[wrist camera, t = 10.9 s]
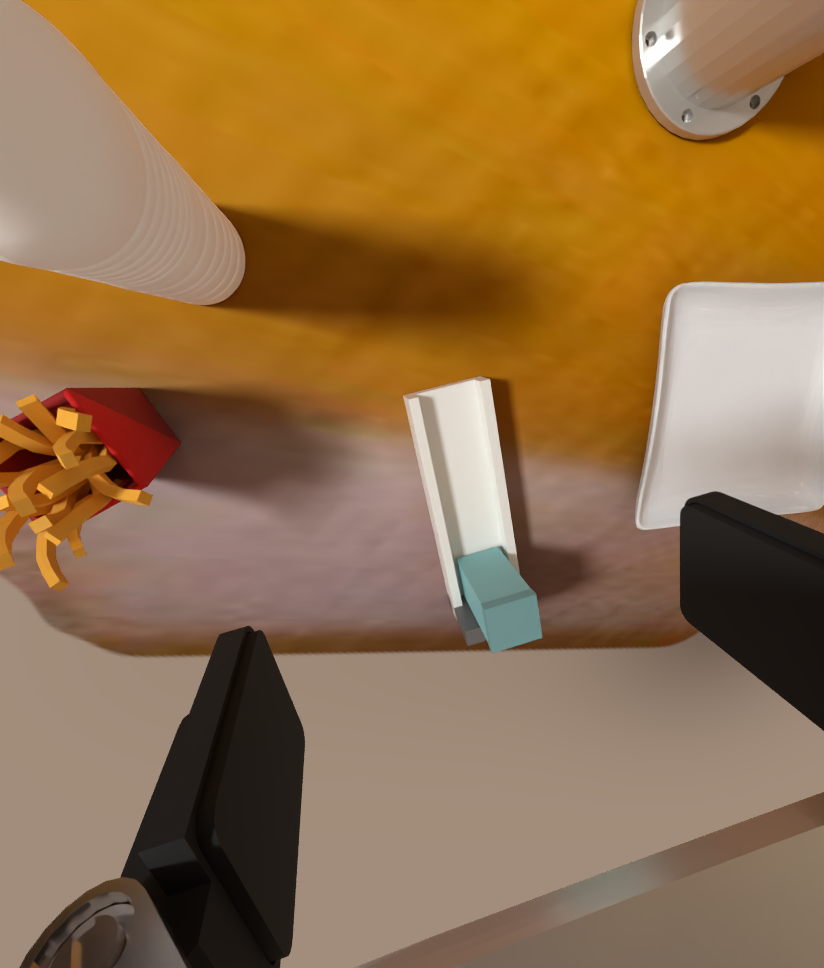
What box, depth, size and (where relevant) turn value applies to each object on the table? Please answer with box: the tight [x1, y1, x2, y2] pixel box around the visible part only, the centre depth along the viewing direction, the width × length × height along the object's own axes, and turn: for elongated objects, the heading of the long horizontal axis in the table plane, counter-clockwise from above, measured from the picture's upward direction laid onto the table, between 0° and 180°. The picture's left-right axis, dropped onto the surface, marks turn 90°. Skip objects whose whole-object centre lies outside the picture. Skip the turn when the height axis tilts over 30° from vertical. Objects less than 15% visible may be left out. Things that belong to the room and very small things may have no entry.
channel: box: [403, 376, 540, 646], centre depth 37 cm, size 7×21×6 cm, turn 13°
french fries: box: [0, 388, 181, 591], centre depth 27 cm, size 9×8×15 cm
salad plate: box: [635, 281, 824, 530], centre depth 40 cm, size 21×21×3 cm
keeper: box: [456, 547, 542, 653], centre depth 37 cm, size 4×4×8 cm
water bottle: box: [0, 0, 245, 305], centre depth 18 cm, size 9×6×25 cm
